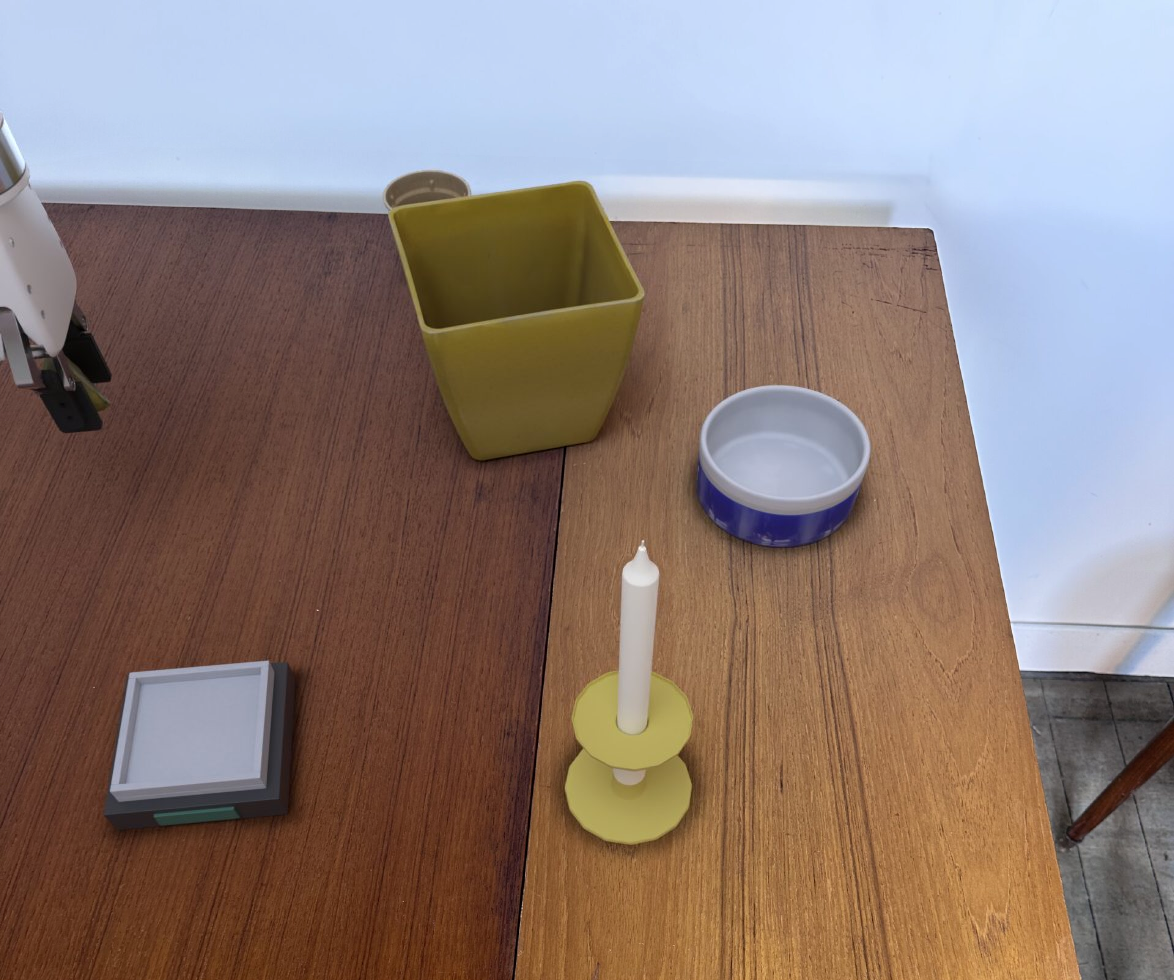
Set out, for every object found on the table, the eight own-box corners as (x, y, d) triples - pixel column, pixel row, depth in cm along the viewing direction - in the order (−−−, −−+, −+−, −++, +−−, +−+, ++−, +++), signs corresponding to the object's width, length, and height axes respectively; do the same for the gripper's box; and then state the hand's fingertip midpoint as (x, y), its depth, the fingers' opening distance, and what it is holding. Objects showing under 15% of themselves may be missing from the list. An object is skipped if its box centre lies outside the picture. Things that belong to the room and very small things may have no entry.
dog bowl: (862, 553, 88) (878, 503, 83) (693, 546, 89) (699, 496, 84) (849, 439, 96) (864, 386, 91) (695, 433, 97) (700, 381, 92)
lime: (78, 385, 78) (48, 329, 74) (131, 397, 77) (103, 340, 73) (47, 421, 76) (14, 365, 72) (101, 433, 75) (71, 378, 71)
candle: (592, 719, 79) (590, 458, 56) (708, 756, 78) (757, 502, 54) (544, 820, 75) (522, 580, 52) (667, 862, 73) (701, 633, 50)
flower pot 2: (589, 338, 104) (589, 175, 90) (640, 456, 95) (648, 295, 81) (415, 369, 102) (385, 206, 88) (449, 493, 93) (422, 334, 78)
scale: (116, 833, 74) (93, 807, 71) (139, 693, 81) (118, 663, 78) (287, 817, 75) (272, 791, 72) (295, 679, 82) (282, 649, 78)
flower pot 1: (493, 258, 112) (486, 180, 105) (454, 304, 108) (444, 226, 100) (422, 239, 114) (410, 161, 107) (381, 283, 110) (365, 205, 102)
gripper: (-76, 97, 65) (55, 341, 81) (-140, 244, 56) (21, 485, 72) (39, 89, 65) (147, 333, 81) (-7, 233, 57) (124, 475, 73)
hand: (86, 402), depth 76 cm, fingers closed on lime, 5 cm apart
